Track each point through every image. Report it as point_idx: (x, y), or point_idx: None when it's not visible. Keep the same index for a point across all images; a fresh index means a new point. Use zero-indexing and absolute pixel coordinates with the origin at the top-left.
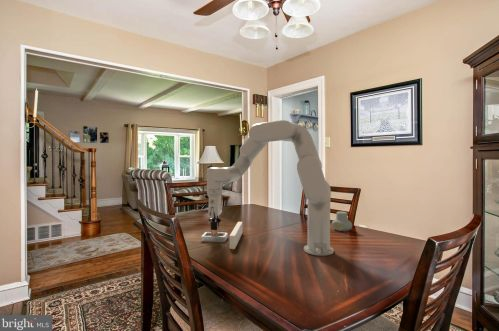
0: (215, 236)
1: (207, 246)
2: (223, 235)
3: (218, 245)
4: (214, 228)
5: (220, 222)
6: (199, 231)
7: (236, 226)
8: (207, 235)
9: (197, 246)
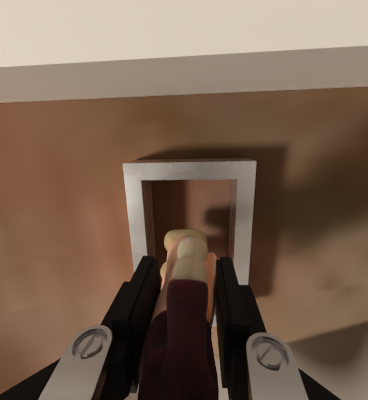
0: (242, 238)
1: (336, 249)
2: (147, 191)
3: (319, 186)
4: (248, 288)
5: (206, 271)
6: (53, 347)
7: (94, 39)
8: None
9: (332, 301)
